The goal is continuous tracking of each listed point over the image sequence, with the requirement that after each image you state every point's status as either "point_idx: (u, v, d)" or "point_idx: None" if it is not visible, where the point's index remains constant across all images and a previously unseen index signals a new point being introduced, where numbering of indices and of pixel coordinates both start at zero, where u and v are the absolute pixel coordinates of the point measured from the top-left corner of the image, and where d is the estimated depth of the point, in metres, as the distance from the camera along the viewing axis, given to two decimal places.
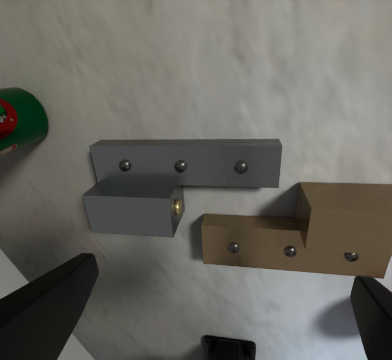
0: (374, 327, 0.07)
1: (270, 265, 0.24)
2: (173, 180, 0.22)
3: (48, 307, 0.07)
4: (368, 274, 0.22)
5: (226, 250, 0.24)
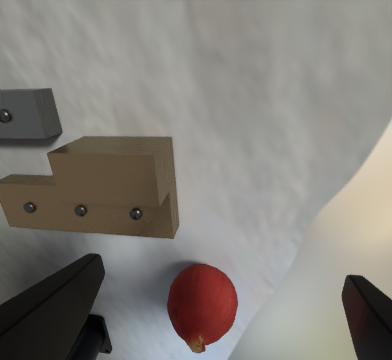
0: (363, 326, 0.07)
1: (69, 226, 0.23)
2: None
3: (56, 308, 0.07)
4: (158, 234, 0.21)
5: (25, 211, 0.23)
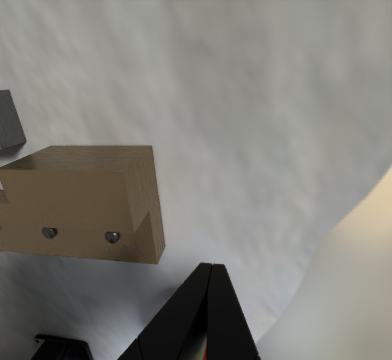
0: None
1: (38, 249, 0.20)
2: None
3: (198, 326, 0.07)
4: (140, 259, 0.18)
5: None
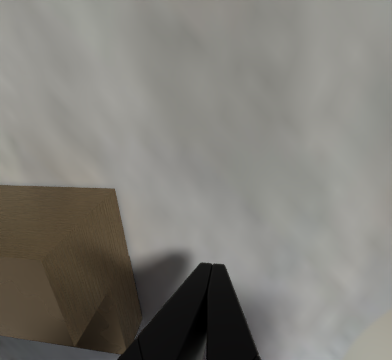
0: None
1: None
2: None
3: (198, 326, 0.07)
4: (102, 347, 0.13)
5: None
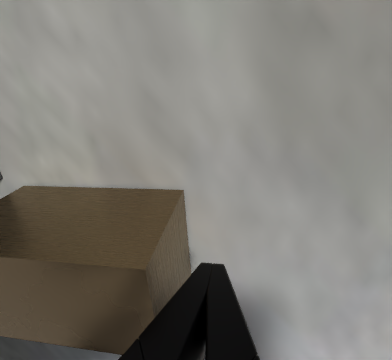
0: None
1: None
2: None
3: (199, 326, 0.07)
4: None
5: None
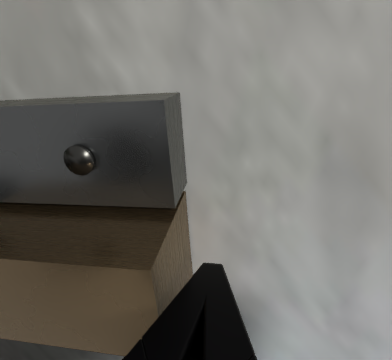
0: None
1: None
2: None
3: (202, 327, 0.07)
4: None
5: None
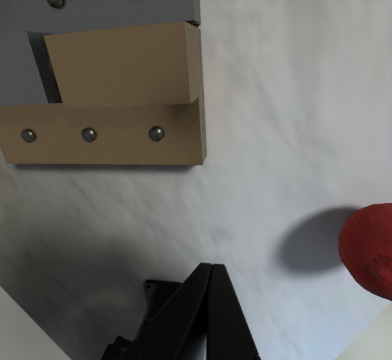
0: None
1: (76, 158, 0.19)
2: (51, 26, 0.15)
3: (198, 326, 0.07)
4: (184, 160, 0.17)
5: (23, 141, 0.19)
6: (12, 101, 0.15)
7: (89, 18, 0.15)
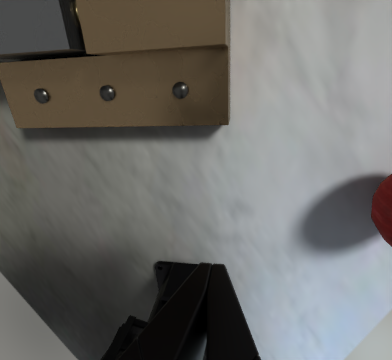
0: None
1: (92, 120, 0.18)
2: None
3: (198, 326, 0.07)
4: (209, 120, 0.17)
5: (36, 102, 0.18)
6: (30, 47, 0.14)
7: None
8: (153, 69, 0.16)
